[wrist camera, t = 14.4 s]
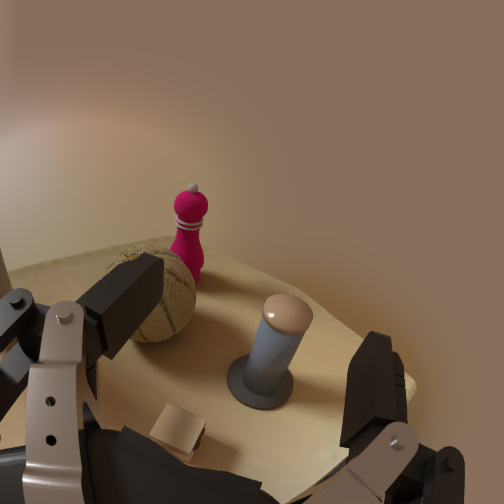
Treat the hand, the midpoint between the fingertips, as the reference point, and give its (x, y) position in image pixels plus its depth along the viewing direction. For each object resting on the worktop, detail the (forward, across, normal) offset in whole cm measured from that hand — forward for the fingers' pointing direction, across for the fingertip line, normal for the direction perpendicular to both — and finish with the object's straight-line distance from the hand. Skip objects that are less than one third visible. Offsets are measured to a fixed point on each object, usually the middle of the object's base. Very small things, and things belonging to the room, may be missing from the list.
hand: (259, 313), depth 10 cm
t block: (+4, +5, +30) cm, 31 cm away
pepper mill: (+35, +19, +30) cm, 50 cm away
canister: (+18, -2, +29) cm, 35 cm away
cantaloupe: (+20, +18, +30) cm, 40 cm away
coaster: (+18, -2, +30) cm, 35 cm away
